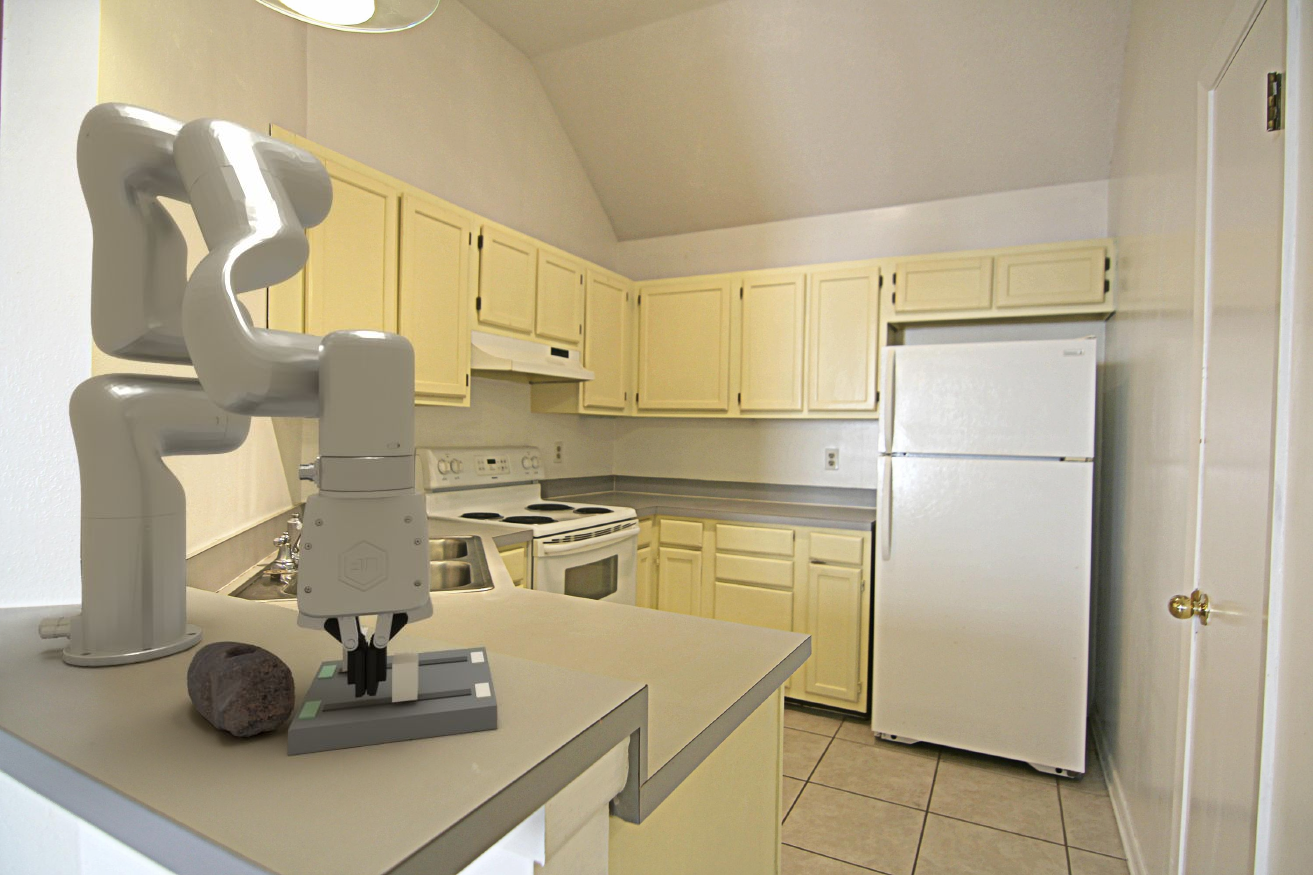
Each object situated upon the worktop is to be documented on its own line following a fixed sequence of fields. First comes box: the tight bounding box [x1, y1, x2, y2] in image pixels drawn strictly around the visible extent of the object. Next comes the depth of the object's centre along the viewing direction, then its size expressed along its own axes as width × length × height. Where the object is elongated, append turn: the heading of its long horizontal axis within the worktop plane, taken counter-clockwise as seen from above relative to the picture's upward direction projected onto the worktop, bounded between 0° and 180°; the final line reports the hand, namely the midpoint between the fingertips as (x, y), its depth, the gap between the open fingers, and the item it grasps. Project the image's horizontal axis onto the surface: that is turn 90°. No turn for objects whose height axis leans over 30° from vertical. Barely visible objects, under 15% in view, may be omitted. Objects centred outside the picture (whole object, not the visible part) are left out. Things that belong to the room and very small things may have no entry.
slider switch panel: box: [287, 646, 498, 756], centre depth 62 cm, size 16×16×2 cm
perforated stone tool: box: [186, 640, 296, 737], centre depth 59 cm, size 15×5×7 cm, turn 51°
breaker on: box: [342, 626, 370, 671], centre depth 65 cm, size 2×3×3 cm, turn 18°
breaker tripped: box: [392, 650, 419, 702], centre depth 58 cm, size 2×3×3 cm, turn 18°
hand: (367, 690), depth 57 cm, fingers closed
